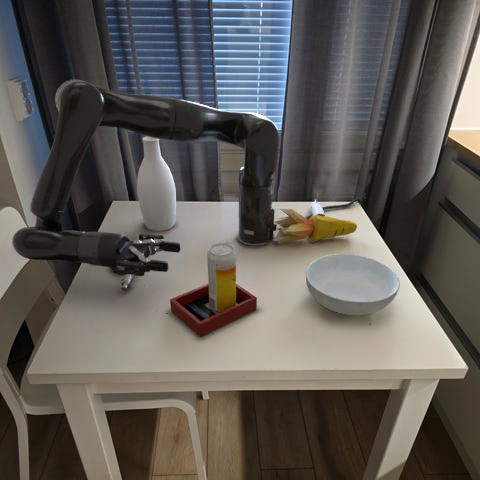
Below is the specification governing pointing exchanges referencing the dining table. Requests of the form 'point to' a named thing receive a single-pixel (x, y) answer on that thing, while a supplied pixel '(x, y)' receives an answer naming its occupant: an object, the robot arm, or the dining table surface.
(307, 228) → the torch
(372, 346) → the dining table surface
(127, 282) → the micrometer
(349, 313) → the serving bowl
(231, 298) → the lager tin can
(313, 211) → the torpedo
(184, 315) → the red picture frame
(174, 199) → the bottle
